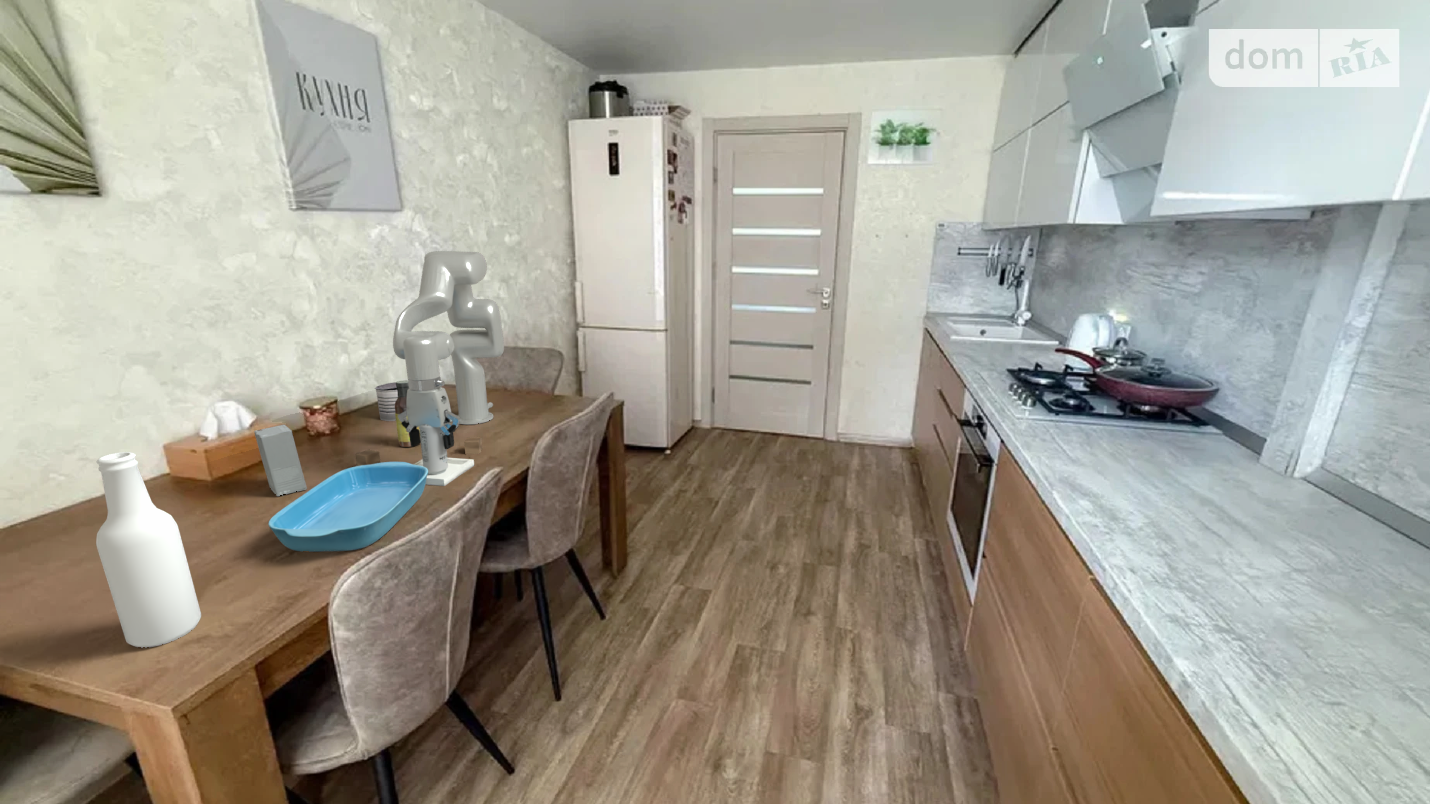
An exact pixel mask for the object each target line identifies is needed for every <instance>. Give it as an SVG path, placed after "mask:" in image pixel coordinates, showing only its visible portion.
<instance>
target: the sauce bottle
mask: <svg viewBox="0 0 1430 804" xmlns="http://www.w3.org/2000/svg"><path fill="white" fill-rule="evenodd" d="M396 387H397V392H398V398H397V400H396V402H395V416H396V421H395V424H396V431H397V440H398V444H399V446H400V447H402V448H412V447H411V443H410V437H409V432H407V431H406V428H405V427H404V426H403V425H402V424H401V423H402V422H401V421H400V420H399V418H398V415H399V414H401V413H403V412H405V411H407V390H408V389H409V384H408V379H405V380H398V381H396ZM406 418H407V420H408V417H406ZM417 429H419V427H417ZM419 432H420V430H419ZM419 445H420V444H418V445H416V446H419ZM416 446H415V447H416Z"/></svg>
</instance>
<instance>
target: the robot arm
mask: <svg viewBox="0 0 1430 804" xmlns="http://www.w3.org/2000/svg"><path fill="white" fill-rule="evenodd" d="M423 260H424V261H423V265H422V271H421V278H420V285H419V292H418V297H417V298H416V299H414V300H413V301H412V302H411V303H410V304H408V305H407V306H406V307H405V308H404V309H403V310H402V311H401V312H400V314H398V317H397V319H396V322H395V325H394V331H393V339H392V348H393V352H394V354H395V355H396V357H397V358H399V359H402V360H405V361H404V362H405V367H406V374H407V380H408V384H409V389H408V390H407V411H405V412H403V413H401V414H399V415H398V418H399V420H400V421H401V422H402V423H401V424H402V425H403V426H404V427H405V428H406V431H407V432H409V437H410V443H411V447H410V448H412V447H413V448H414V447H416V445H417V446H419V445H421V440H420V432H419V429H417V427H419V426H421V425H423V424H427V425H430V426H431V427H435V428H440V429H441V430H442V431H443V432H444V433H445V435H443V438H444V447H445V449H447V450H450V449H451V448H452V447H454V446H455V439H454V432H456V430H457V429H458V428H459V427H460V426H459V425H478V423H479V424H484V423H487V422H490V421H491V420H493V418H494V414H493V413H492V412H490V411H489V409H491V408H492V407H493V406H494V404H493V402H491V401H490V402H488V398H487V397H488V395H487V387H486V376H485V369H484V366H483V365H482V364H481V363H480V362H479V361H478V359H480V358H481V359H482V358H486V359H487V358H499V357H501V356H502V355H503V353H504V351H505V342H504V333H503V327H502V320H501V313H500V308H499V306H498V303H497V302H496V301H495V300H493V299H489V298H475V297H474V293H473V288H472V285H476V284H479V283H480V282H481V281H482V280H483V279H484V278H485V277H486V274H487V272H488V271H487V270H488V268H487V267H488V266H487V260H486V259H485V256H484V254H483V253H481V252H480V251H461V250H460V251H459V250H457V251H455V250H454V251H453V250H434V251H430V252H427V253H425V256H424V259H423ZM445 312H446V313H447V316H448V317H447V318H448V321H449V323H450V325H451V326H452V327H454V328H460V329H458V330H455V331H453V332H451V333H450V334H449V333H447V332H446V331H440V330H435V331H433V330H432V331H429V330H417V331H416V330H413V329H414V328H415V327H416V326H417V325H419V324H420V323H423V322H424V321H426V320H428V319H431V318H434V317H436V316H440V315H442V314H444V313H445ZM450 356H451V361H452V365H453V372H454V381H455V382H454V383H455V384H454V385H455V393H456V400H457V409H458V411H457V412H458V414H455V413H453V412H452V409H451V405H450V400H449V397H448V393H447V390H446V388H444V386H445V380H442V377H441V372H440V362H439V361H440V360H445V359H448V358H449V357H450ZM406 417H408V420H407V418H406ZM489 420H490V421H489ZM418 444H419V445H418Z"/></svg>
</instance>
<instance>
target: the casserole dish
mask: <svg viewBox="0 0 1430 804" xmlns="http://www.w3.org/2000/svg"><path fill="white" fill-rule="evenodd" d="M413 464H414V463H410V462H406V461H386V462H385V461H383V462H381V463H376V464H371V465H362V466H357V465H356V466H353V467H352V466H351V467H348V468H345V469H342V470H340V471H338V472H336V473H334V474H332V475H331V476H329V477H327V478H326V479H324V480H323V481H321V482H320V483H318V484H317V485H316V486H313V487H312V488H311V489H310V490H308V491H306V492H305V493H303V494H302V495H301V496H299V497H298V498H296V499H295V500H293V501H292V502H290V503H289V504H287V505H286V506H285V507H283V508H281V510H279V511H278V512H276V513H275V514H274V515H273V516H272V517H271V518H270V519H269V521H268V522H267V523H268V527H269V528H270V531H272V533H274V535H275V536H276V538H277V539H278V540H279V542H281V544H282V545H284V547H285V548H287V549H289V550H292V551H296V552H303V551H309V553H310V552H311V553H312V552H314V553H316V552H319V553H320V552H346V551H349V552H350V551H356V550H360V549H363V548H366V547H368V546H370V545H372V544H374V543H376V542H377V541H379V540H380V539H381V538H382V537H383V536H385V535H386V534H387V533H388V532H389V531H390V530H391V529H392V528H393V527H394V526H395V525H396V524H397V523H398V522H399V521H400V520H401V519H402V518H403V517H404V516H405V514H407V513H408V512H409V510H410V509H411V508H412V507H413V506H414V505H416V503H417V502H418V501H419V499H420V498H421V497H422V496H423V493H424V490H425V486H426V484H425V483H426V478H427V474H428V469H427V468H426V467H423V466H419V465H413Z"/></svg>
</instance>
